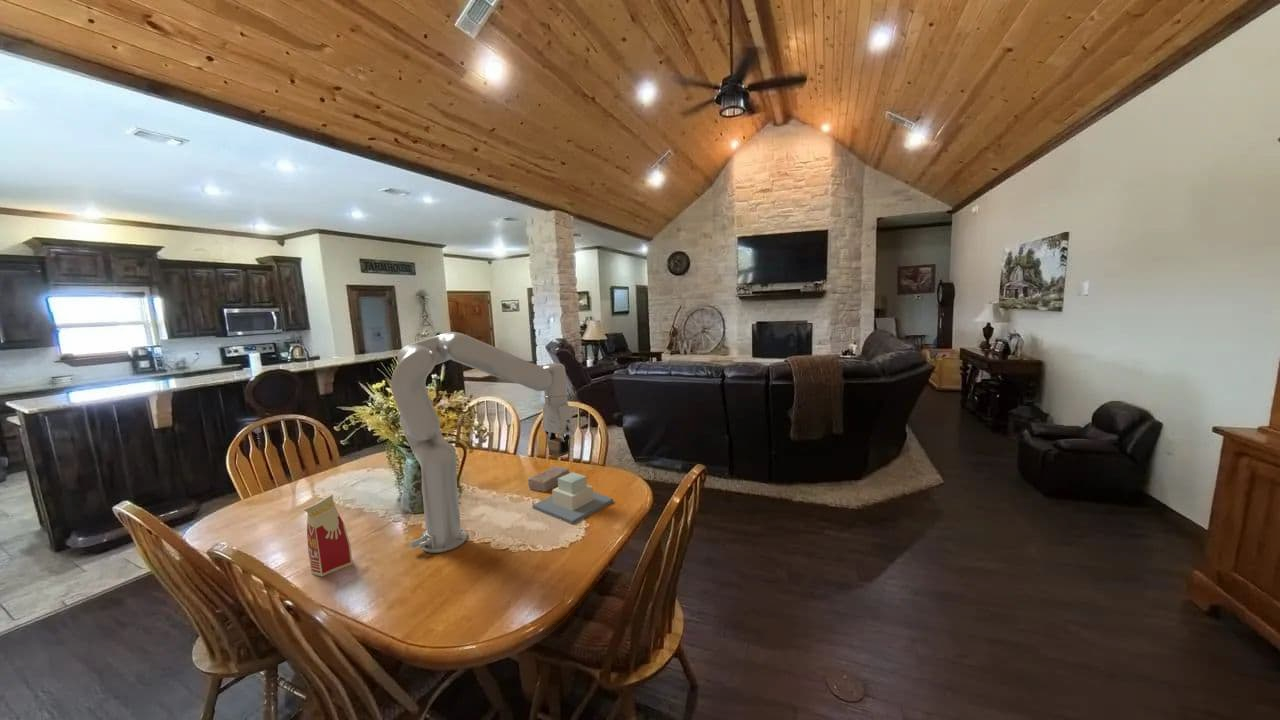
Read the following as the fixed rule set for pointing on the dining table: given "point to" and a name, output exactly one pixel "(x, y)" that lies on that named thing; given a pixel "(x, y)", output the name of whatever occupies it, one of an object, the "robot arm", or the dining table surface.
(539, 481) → the brick
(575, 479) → the green block
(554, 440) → the walnut cube
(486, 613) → the dining table surface
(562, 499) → the foundation
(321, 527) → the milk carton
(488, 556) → the dining table surface
